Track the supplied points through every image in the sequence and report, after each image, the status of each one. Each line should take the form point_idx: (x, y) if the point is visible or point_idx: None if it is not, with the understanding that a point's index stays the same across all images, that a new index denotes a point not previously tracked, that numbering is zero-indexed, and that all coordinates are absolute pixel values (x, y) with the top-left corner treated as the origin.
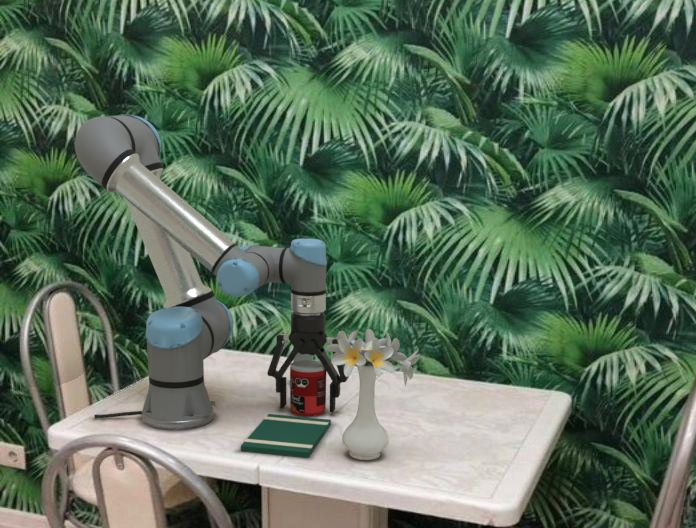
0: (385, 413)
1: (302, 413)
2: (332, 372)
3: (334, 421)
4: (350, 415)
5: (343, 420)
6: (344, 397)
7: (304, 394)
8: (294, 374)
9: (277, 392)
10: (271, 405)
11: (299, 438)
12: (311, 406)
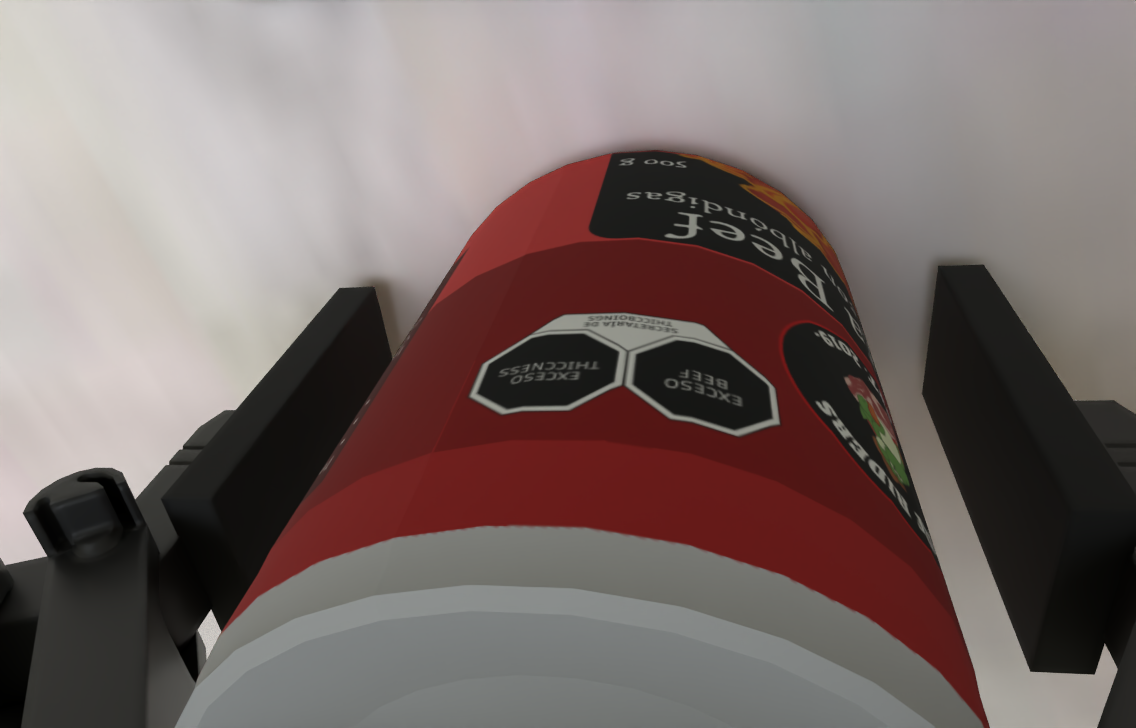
0: (4, 457)
1: (645, 151)
2: (46, 679)
3: (256, 115)
4: (214, 337)
5: (193, 179)
6: None
7: (585, 253)
8: (816, 514)
9: (1100, 402)
10: (1110, 397)
11: None
12: (517, 209)
